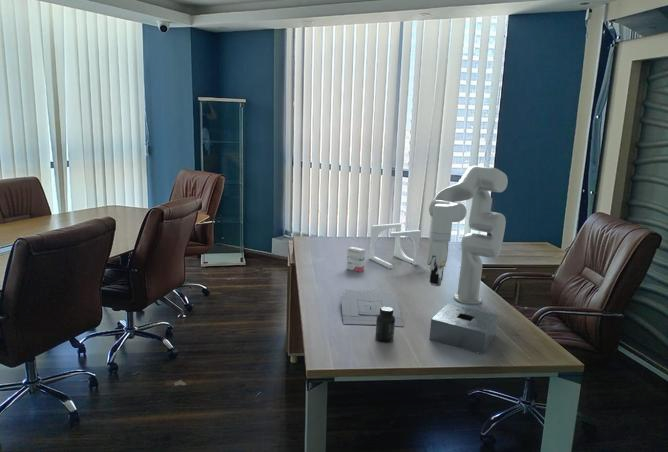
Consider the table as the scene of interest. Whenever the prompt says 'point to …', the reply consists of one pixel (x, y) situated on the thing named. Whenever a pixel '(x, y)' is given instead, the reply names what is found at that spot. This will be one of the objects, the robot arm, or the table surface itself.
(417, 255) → the white frame stand
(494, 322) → the grey square platform
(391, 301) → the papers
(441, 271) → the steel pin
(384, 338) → the supplement bottle
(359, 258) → the ink box
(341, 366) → the table surface
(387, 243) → the table surface
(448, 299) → the table surface
